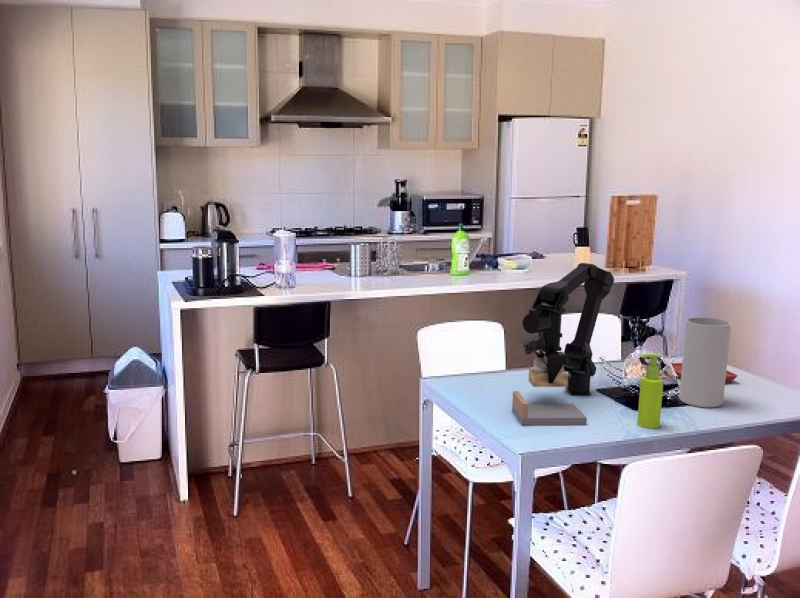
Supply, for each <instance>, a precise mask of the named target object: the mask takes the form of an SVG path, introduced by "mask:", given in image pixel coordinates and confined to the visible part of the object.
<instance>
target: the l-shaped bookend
mask: <svg viewBox="0 0 800 600" xmlns="http://www.w3.org/2000/svg"><path fill="white" fill-rule="evenodd" d="M511 403H512V405H511V407H512V408H511V412H512V413H513V415H514V416H515V417H516V419H517V420H518V422H519V424H520V425H521V426H587V423H588V422H587V421H588V420H587V419H588V417H587V416H586V415H585V414H584V413H583V412H582V411H581V410H580V409H579V408H578V407H577V406H576V405H575V404H574V403H569V404H568V403H565V404H564V403H558V404H557V403H556V404H555V403H551V404H550V403H548V404H547V403H545V404H543V403H542V404H541V403H539V404H538V403H537V404H536V403H535V404H534V403H533V404H530V403H528V402H527V400H526V399H525V398H524V397H523V395H522V394H521V392H520V391H519V390H512V402H511Z"/></svg>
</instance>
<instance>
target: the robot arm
mask: <svg viewBox="0 0 800 600" xmlns="http://www.w3.org/2000/svg"><path fill="white" fill-rule="evenodd" d="M614 283H615V277H614V276H613V274H612V272H611V271H610V270H609V271H607V270H605V269H602V268H600V267H598V266H597V265H595V264H594V263H588V262H581V263H579V264H577V265H576V267H575V268H574V269H572V270H571V271H570V272H568V273H566V275H565V276H563V277H562V278H561V279H559V280H557V281H553V282H549V283H547V284H544V285H543V286H542V287H541V288H540V289H539V291H538V293H537V296H536V298H535V300H534V301H533V304H532V306H531V309H530V308H529V310H528V313H527V314H526V315H525V316H524V317H523V319H522V327H523V330H525V332H526V333H528V334H537V335H535V336H531V337H529V338H526V339H522V340H520V346H521V350H522V352H523V353H524V354H525V355H531V354H532V353H533V354H534V355H535V356H536V358H544V361H543V362H544V363H545V365H546V366H547V371H548V381H549V383H550V384H552V383H553V382H554V380H555V378H556V377H557V375H558V373H559V371H560V370H561V368H562V367H563V369H564V370H565V371H566V372H567V373H568V379H567V387H564V388H565V390H566V392H568V394H570V395H573V396H577V395H578V396H586V395H587V396H590V395H592V392H591V391H590V388H591V377H594V376H595V375H596V372H597V366H596V364H595V363H594V362H593V359H592V358H593V351H592V347H591V341H592V337H593V335H594V331H595V326H596V322H597V320H598V316H599V313H600V309H601V304H602V302H603V300H604V299H605V298H606V297H607V296H608V295H609V294H610V293H611V291H612V288H613V285H614ZM582 285H583V289H584V292H585V295H586V296H585V300H584V303H583V305H582V306H583V307H582V310H581V314H580V317H579V320H578V324H577V329H576V332H575V335H574V338H573V340H572V341H571V342H570V343H568V342H567V343H566V344H565V347H564V350H563V349H562V346H561V338H563V333H562V330H561V329H562V315H563V313H566V309H565V308H564V306H565V305H566V303H567V302H569V300H570V295H571V294H572V292H574V291H575V290H577V288H579V287H580V286H582ZM562 350H563V351H562ZM563 365H564V366H563Z"/></svg>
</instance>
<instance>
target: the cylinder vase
mask: <svg viewBox="0 0 800 600" xmlns="http://www.w3.org/2000/svg"><path fill="white" fill-rule="evenodd" d="M731 330H732V322H730V321H728V320H725V319H720V318H715V317H705V316H702V317H701V316H698V317H697V316H695V317H694V316H693V317H688V318H687V317H686V319H685V328H684V339H683V352H682V362H681V363H682V371H681V379H680V384H679V385H680V386H679V396H678V398H679V400H680V401H681V402H683V403H684V404H687V405H688V406H693V407H698V408H708V409H709V408H710V409H711V408H713V409H714V408H718V407H721V406H722V405H723V403H724V399H725V398H724V397H725V389H726V388H725V386H726V383H725V380H726V370H727V371H728V369H727V367H728V359H729V350H730V348H729V347H730V339H731Z"/></svg>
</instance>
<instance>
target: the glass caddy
mask: <svg viewBox="0 0 800 600" xmlns="http://www.w3.org/2000/svg"><path fill="white" fill-rule="evenodd" d="M543 361H544V358H538V357H535V358H534V359H533V367H529V368H528V382H529V383H530V385H531V386H532V387H533V388H537V387H538V388H542V387H543V388H553V387H554V388H563V387H564V388H566V387H567V379H568V372H566V371H565V370H564V369H563V367H562V368H561V370H560V371H559V373H558V375H557V377H556V378H555V380H554V382H553V383H552V384H550V383H549V381H548V371H547V366H546V365H545V363H544V362H543ZM563 366H564V365H563Z"/></svg>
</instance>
